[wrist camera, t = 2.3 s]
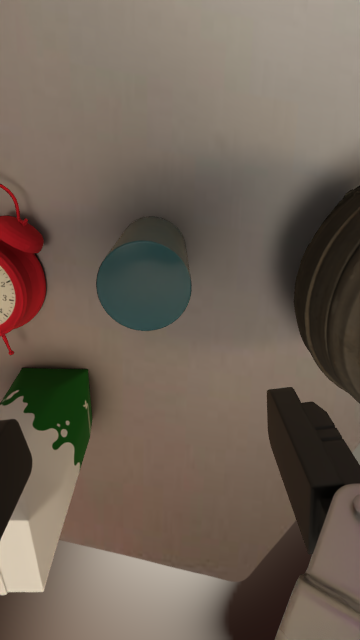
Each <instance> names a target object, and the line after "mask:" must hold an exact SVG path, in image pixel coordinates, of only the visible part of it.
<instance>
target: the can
mask: <svg viewBox="0 0 360 640" xmlns="http://www.w3.org/2000/svg"><path fill="white" fill-rule="evenodd" d="M191 286H192V285H191V277H190V271H189V265H188V258H187V252H186V246H185V241H184V238H183V236H182V234H181V232H180V231H179V229H178V228H177V227H176V226H175V225H174V224H172V223H171V222H170V221H168V220H166V219H163V218H160V217H155V216H149V217H143V218H140V219H138V220H136V221H134V222H133V223H131V224H130V225H129V226H128V227H127V228H126V230H125V231H124V233H123V234H122V235H121V237H120V238H119V240H118V241H117V242H116V244H115V245H114V246H113V248H112V249H111V251H110V252H109V253H108V255H107V256H106V258H105V259H104V261H103V262H102V264H101V266H100V268H99V271H98V274H97V281H96V287H97V294H98V297H99V300H100V303H101V304H102V306H103V308H104V309H105V311H106V312H107V313H108V314H109V315H110V316H111V317H112V318H113V319H114V320H115V321H116V322H118V323H120V324H121V325H123V326H125V327H128V328H131V329H135V330H141V331H150V330H156V329H160V328H163V327H166V326H168V325H169V324H171V323H173V322H174V321H175V320H177V319H178V318H179V317H180V316H181V314H182V313H183V312H184V310H185V309H186V307H187V305H188V303H189V300H190V297H191Z"/></svg>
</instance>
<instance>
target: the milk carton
mask: <svg viewBox="0 0 360 640" xmlns="http://www.w3.org/2000/svg"><path fill="white" fill-rule="evenodd" d="M7 419H15V420H17V421H18V423H19V425H20V427H21V430H22V432H23V435H24V437H25V440H26V442H27V445H28V447H29V449H30V452H31V455H32V471H31V474H30V477H29V479H28V481H27V483H26V485H25V487H24V490H23V492H22V494H21V496H20V498H19V501H18V503H17V505H16V507H15V509H14V511H13V514H12V516H11V518H10V520H9V522H8V525H7V527H6V529H5V531H4V533H3V535H2V538H1V540H0V595H6V594H7V593H8V592H44V588H45V585H46V581H47V578H48V574H49V571H50V567H51V564H52V560H53V557H54V554H55V550H56V547H57V544H58V540H59V537H60V534H61V530H62V527H63V524H64V521H65V517H66V514H67V511H68V508H69V504H70V501H71V498H72V494H73V491H74V488H75V484H76V481H77V478H78V474H79V471H80V468H81V465H82V461H83V458H84V455H85V451H86V448H87V445H88V441H89V438H90V433H91V425H92V410H91V399H90V387H89V376H88V369H46V368H22V369H21V371H20V373H19V374H18V376H17V377H16V379H15V381H14V382H13V384H12V385H11V387H10V389H9V390H8V392H7V393H6V395H5V397H4V398H3V400H2V402H1V403H0V420H7Z"/></svg>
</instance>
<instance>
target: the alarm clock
mask: <svg viewBox="0 0 360 640" xmlns="http://www.w3.org/2000/svg"><path fill="white" fill-rule="evenodd" d="M0 187H1V188H2V189H4V190H5V191H6V192H7V193H8V194H9V195H10V196H11V197H12V199H13V201H14V204H15V208H16V214H17V218H16V217H12V216H0V336H2V338H3V340H4V342H5V344H6V346H7V348H8V350H9V354H10V355H13V354H14V352H13V351H12V350H11V348H10V346H9V343H8V340H7V338H6V336H5V334H6V333H8V332H10V331H11V330H13V329H15V328H18V327H20V326H23V325H24V324H26V323H28V322H29V321H30V320H31V319H32V318H33V317H34V316H35V315H36V314H37V313H38V312H39V310H40V308H41V307H42V304H43V302H44V299H45V294H46V281H45V276H44V272H43V269H42V267H41V264H40V262H39V261H38V259H37V257H36V256H35V254H34V253H38V252H40V251H41V249H42V247H43V243H44V241H43V237H42V235H41V234H40V232H39V231H38V230H36V229H35V228H34V227H33V226H32V225H30V224H29V223H27V222H28V219H26V218H25V219H24V221H23V220H21V219H20V211H19V206H18V203H17V200H16V198H15V196H14V195H13V193H12V192H11V191H10V190H9V189H8V188H6V187H5V186H3V185H2V184H0Z"/></svg>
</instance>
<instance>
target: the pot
mask: <svg viewBox="0 0 360 640" xmlns="http://www.w3.org/2000/svg"><path fill="white" fill-rule="evenodd" d="M294 307H295V313H296V319H297V324H298V328H299V331H300V334H301V337H302V339H303V342H304V344H305V346H306V347H307V349H308V350H309V352H310V353H311V355H312V357H313V359H314V360H315V362H316V364H317V365H318V367H319V368H320V370H321V371H322V372H323V373H324V374H325V376H327V377H328V379H329V380H330V381H332V382H333V383H335V384H336V385H337V386H338V387H340V388H341V389H343V390H345V391H346V392H348V393H349V394H350V395H351V396H352V397H353V398H354V399H355V400H356V401H357V402H359V403H360V186H359V187H357V188H356V189H354V190H350V191H349V192H348V193H347V194H346V195H345V196H344V198H343V199H342V200H341V201H340V202H339V204H338V205H337V206H336V207H335V208H334V210H333V211H332V212H331V213H330V214H329V216H328V217H327V218H326V219H325V220H324V222H323V224H322V225H321V227H320V228H319V230H318V231H317V232H316V234H315V236H314V238H313V239H312V241H311V243H310V244H309V245H308V247H307V249H306V251H305V254H304V255H303V258H302V260H301V264H300V267H299V270H298V274H297V277H296V282H295V292H294Z"/></svg>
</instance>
